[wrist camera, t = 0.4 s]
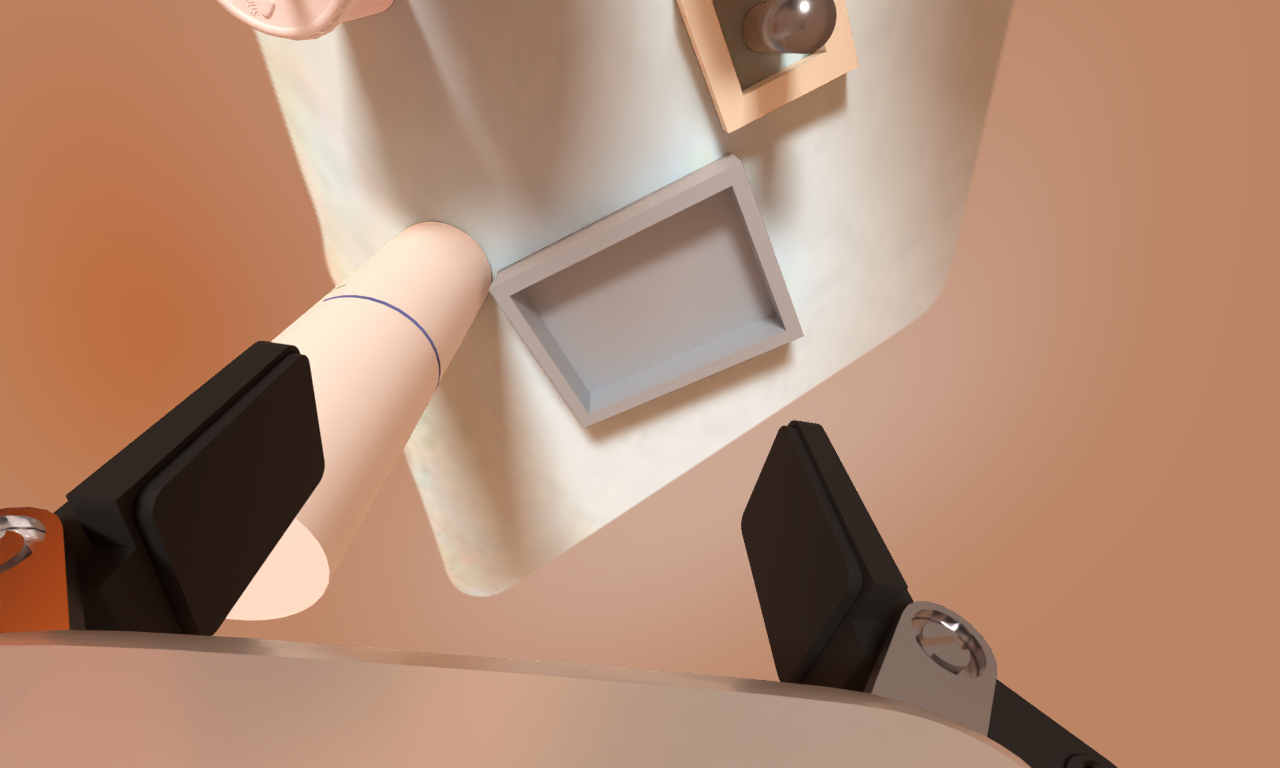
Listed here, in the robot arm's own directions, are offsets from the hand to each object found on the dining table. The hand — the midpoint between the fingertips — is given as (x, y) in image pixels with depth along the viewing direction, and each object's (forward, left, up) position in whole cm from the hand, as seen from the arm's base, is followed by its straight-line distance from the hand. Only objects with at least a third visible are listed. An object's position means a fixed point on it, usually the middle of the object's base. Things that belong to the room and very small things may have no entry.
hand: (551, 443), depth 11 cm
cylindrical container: (+13, +1, -28) cm, 32 cm away
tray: (+1, +9, -28) cm, 30 cm away
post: (-12, -3, -28) cm, 31 cm away
